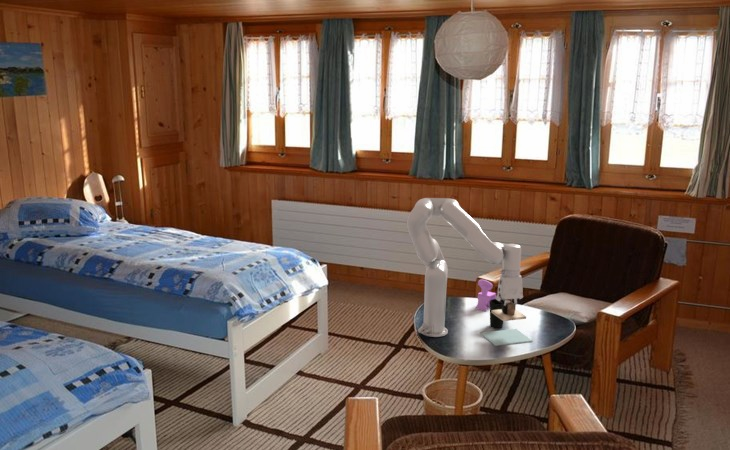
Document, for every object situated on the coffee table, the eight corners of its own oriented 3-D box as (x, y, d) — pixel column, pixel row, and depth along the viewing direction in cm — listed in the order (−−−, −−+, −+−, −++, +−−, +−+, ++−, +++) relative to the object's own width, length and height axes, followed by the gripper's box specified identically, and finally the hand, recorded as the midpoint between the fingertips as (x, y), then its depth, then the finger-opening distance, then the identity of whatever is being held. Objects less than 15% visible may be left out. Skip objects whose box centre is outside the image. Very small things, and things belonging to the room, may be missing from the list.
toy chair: (497, 307, 327) (499, 278, 324) (488, 311, 321) (490, 282, 317) (483, 303, 332) (484, 275, 329) (473, 307, 326) (475, 278, 323)
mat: (495, 345, 279) (495, 344, 279) (480, 333, 292) (480, 332, 292) (532, 341, 285) (532, 340, 284) (516, 330, 298) (516, 328, 298)
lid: (503, 321, 279) (504, 307, 278) (491, 312, 290) (491, 299, 288) (526, 318, 283) (526, 305, 281) (513, 310, 293) (514, 297, 291)
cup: (504, 330, 297) (506, 305, 294) (487, 328, 299) (489, 303, 296) (504, 324, 304) (506, 299, 302) (488, 322, 306) (489, 298, 303)
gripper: (498, 276, 276) (495, 317, 280) (532, 273, 281) (529, 314, 285) (489, 271, 283) (487, 311, 287) (523, 268, 288) (520, 308, 292)
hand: (508, 312), depth 286 cm, fingers closed on lid, 3 cm apart
